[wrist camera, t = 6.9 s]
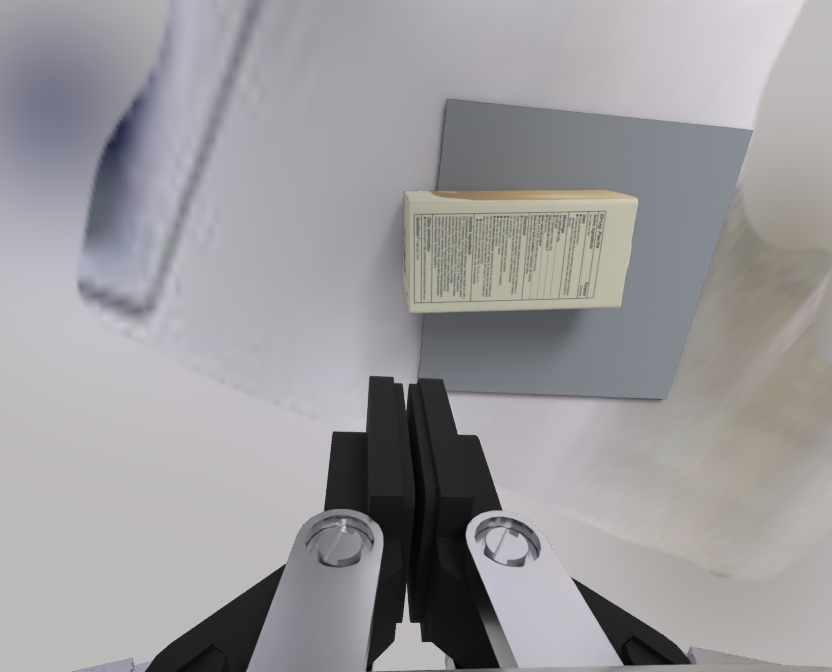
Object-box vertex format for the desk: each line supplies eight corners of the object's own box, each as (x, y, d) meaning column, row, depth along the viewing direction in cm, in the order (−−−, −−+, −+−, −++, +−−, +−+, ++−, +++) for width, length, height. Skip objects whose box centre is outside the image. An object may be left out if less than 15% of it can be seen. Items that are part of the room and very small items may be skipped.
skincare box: (401, 290, 32) (591, 290, 33) (405, 315, 28) (621, 314, 29) (402, 183, 30) (608, 187, 31) (408, 194, 26) (643, 198, 27)
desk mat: (446, 99, 29) (447, 99, 28) (748, 129, 31) (753, 130, 30) (417, 386, 36) (417, 389, 35) (663, 396, 38) (666, 399, 37)
